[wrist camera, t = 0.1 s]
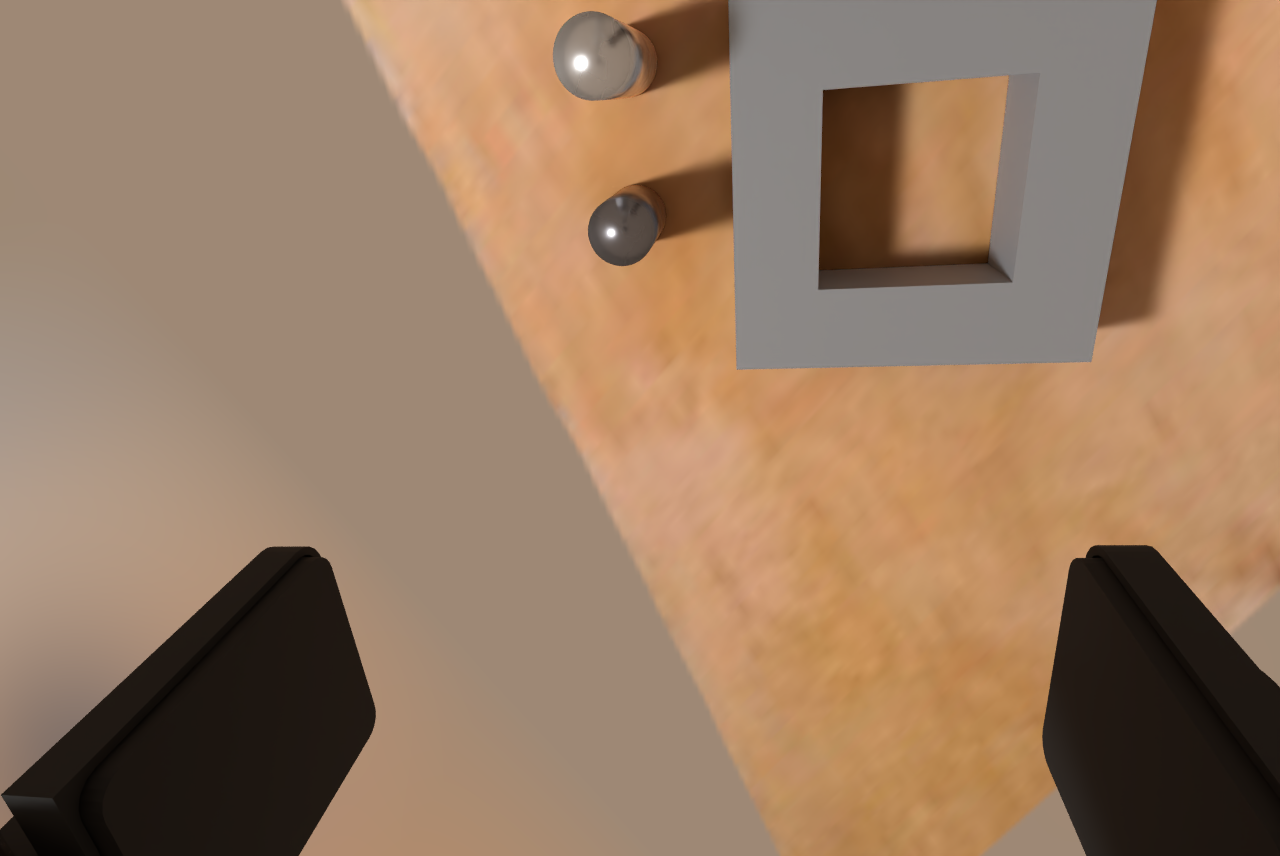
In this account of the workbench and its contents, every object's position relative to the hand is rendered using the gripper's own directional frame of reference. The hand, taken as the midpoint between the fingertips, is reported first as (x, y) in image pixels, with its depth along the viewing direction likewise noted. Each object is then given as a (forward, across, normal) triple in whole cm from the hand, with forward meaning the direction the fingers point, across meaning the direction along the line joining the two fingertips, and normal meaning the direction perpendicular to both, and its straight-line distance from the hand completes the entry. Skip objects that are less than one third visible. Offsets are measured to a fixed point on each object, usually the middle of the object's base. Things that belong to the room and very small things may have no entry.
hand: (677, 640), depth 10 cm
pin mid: (+31, +5, -8) cm, 32 cm away
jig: (+31, -8, -2) cm, 32 cm away
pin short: (+31, +5, -1) cm, 32 cm away
